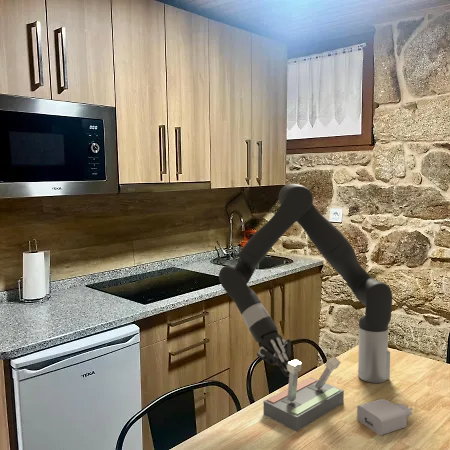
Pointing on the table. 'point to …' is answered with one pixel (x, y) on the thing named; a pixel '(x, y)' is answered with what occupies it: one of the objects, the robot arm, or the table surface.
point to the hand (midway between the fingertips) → (290, 375)
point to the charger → (383, 416)
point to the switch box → (303, 404)
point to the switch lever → (293, 378)
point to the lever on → (327, 371)
